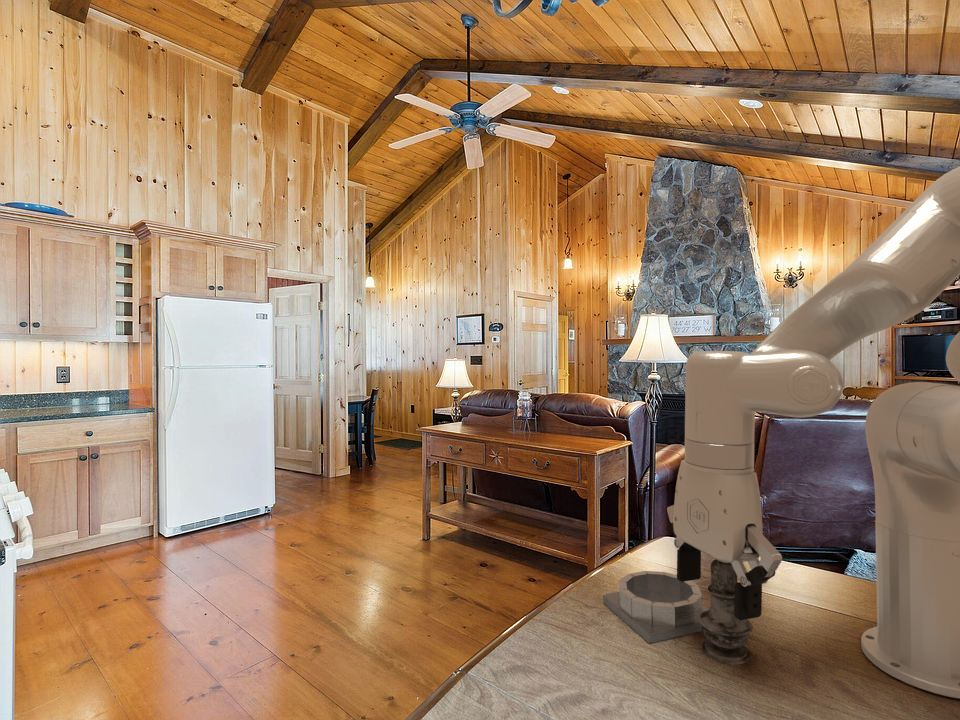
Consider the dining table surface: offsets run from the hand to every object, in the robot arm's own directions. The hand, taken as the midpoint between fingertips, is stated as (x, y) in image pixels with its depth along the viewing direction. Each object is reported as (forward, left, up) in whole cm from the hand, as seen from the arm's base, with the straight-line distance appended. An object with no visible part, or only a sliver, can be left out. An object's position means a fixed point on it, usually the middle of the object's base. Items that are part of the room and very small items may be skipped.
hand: (716, 597), depth 63 cm
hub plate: (+1, -10, -7) cm, 12 cm away
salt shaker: (-1, 0, -7) cm, 7 cm away
